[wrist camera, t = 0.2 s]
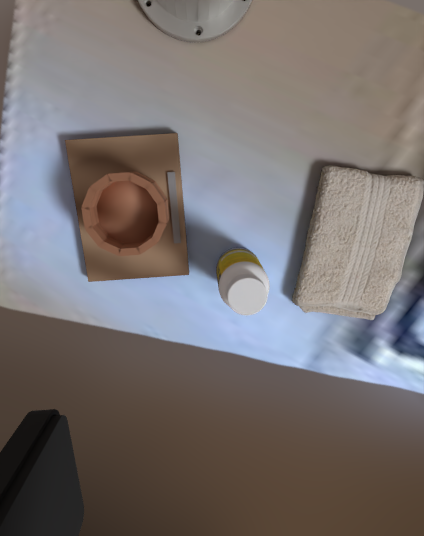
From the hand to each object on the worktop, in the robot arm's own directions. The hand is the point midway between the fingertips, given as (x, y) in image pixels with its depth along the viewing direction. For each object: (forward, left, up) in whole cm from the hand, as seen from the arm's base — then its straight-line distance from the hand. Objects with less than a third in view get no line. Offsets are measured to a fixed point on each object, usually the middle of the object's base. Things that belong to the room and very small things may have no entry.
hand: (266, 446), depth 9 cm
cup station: (-2, -9, -36) cm, 37 cm away
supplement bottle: (+6, +3, -36) cm, 37 cm away
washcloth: (+4, +17, -37) cm, 40 cm away
